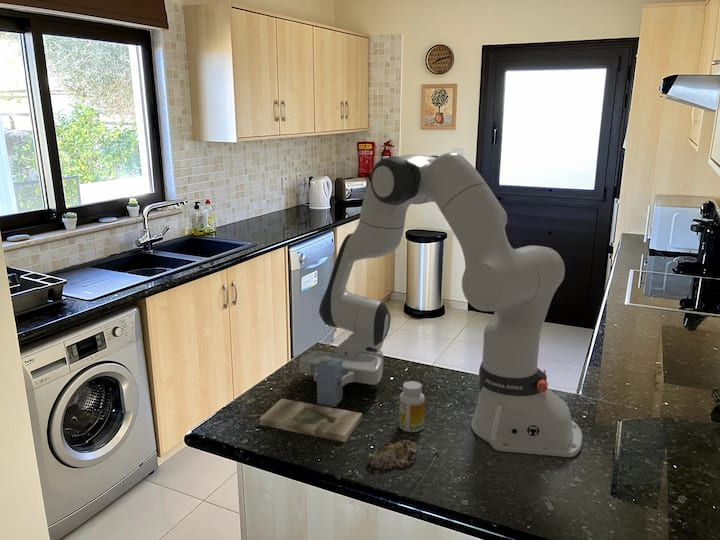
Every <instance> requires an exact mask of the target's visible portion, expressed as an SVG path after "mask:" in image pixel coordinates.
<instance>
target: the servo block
mask: <svg viewBox="0 0 720 540" xmlns="http://www.w3.org/2000/svg"><path fill="white" fill-rule="evenodd" d="M316 367H317V382H316V391H317V392H316V396H317V397H316V398H317V399H316V400H317V402H316V403H317V404H316V405H321V406H326V407H332V408H336V407H337V406H338V405H339V403H340V402H341V401H342V400H343V398H344V395H343V394H344V392H343V391H344V389H343V387H344V386H340V385H337V383H338V382H337V379H338V377H339V376H343V374H342V359H339V358H332V357H330V356H323V357H322V359H321V360H320V361H319V362H318V363H317V364H316Z"/></svg>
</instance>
